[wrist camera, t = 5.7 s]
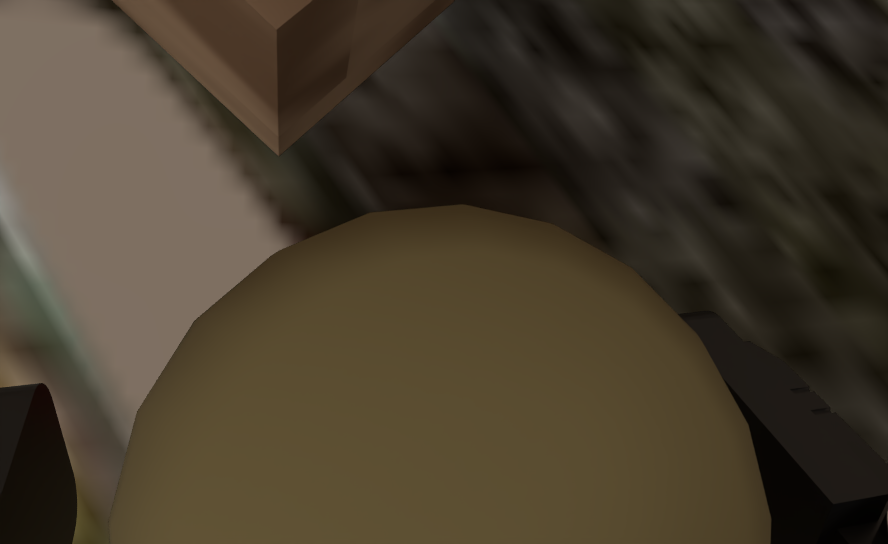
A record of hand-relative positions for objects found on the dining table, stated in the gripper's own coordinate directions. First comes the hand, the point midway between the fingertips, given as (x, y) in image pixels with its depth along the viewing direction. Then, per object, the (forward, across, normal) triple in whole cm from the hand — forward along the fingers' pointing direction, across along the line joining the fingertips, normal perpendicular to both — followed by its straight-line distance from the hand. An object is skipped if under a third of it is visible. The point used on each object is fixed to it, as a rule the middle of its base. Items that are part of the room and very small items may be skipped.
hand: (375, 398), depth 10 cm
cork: (+3, 0, +5) cm, 6 cm away
